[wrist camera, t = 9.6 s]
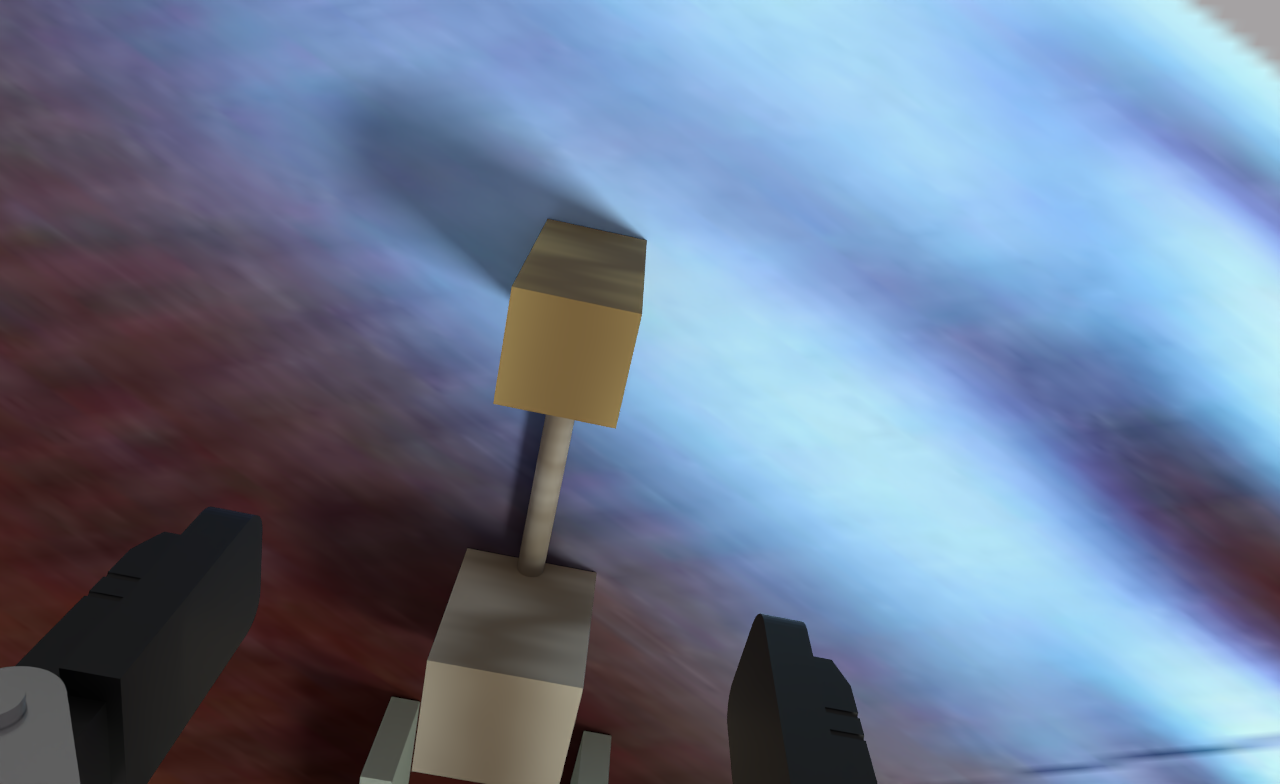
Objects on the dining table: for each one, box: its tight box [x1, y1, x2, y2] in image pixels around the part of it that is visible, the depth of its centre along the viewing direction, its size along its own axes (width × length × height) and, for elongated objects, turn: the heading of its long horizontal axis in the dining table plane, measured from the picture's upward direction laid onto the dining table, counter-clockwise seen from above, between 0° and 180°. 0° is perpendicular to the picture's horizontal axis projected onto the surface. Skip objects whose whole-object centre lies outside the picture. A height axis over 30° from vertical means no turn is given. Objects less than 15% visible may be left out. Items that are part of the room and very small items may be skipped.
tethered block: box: [412, 219, 647, 784], centre depth 27 cm, size 5×18×7 cm, turn 168°
